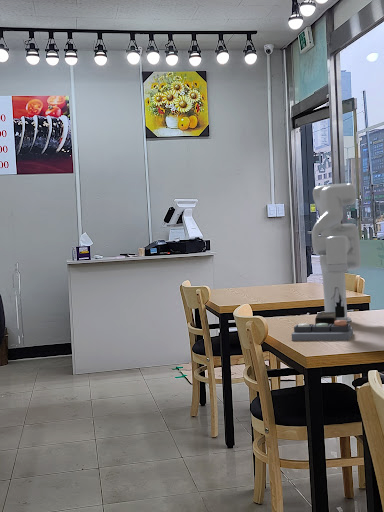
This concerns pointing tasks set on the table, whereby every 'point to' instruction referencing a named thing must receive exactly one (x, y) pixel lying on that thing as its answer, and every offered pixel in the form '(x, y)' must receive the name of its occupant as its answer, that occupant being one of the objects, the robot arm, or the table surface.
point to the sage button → (321, 324)
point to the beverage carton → (325, 317)
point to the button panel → (322, 332)
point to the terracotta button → (340, 323)
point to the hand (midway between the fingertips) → (340, 317)
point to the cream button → (304, 325)
